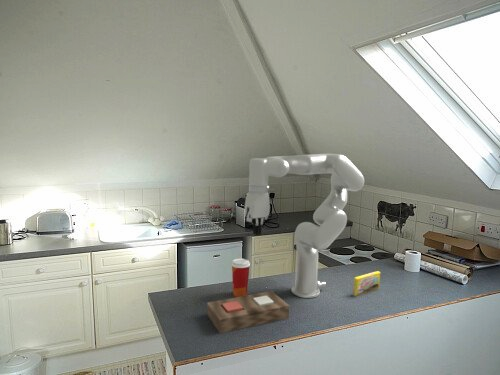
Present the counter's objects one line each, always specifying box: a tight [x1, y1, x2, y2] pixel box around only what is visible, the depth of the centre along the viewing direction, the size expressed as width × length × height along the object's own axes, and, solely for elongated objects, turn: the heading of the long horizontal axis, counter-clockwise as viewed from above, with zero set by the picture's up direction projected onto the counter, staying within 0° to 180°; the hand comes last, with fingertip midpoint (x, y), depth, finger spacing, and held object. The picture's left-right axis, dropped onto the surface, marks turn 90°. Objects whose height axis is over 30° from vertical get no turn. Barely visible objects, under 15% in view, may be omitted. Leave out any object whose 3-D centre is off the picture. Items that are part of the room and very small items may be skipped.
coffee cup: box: [230, 258, 251, 298], centre depth 157 cm, size 8×8×15 cm
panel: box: [206, 290, 290, 334], centre depth 139 cm, size 28×14×5 cm, turn 115°
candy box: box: [352, 270, 382, 297], centre depth 163 cm, size 16×2×8 cm, turn 124°
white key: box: [253, 296, 274, 307], centre depth 141 cm, size 6×6×3 cm
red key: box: [222, 301, 243, 313], centre depth 136 cm, size 6×6×3 cm
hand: (257, 234), depth 147 cm, fingers closed
